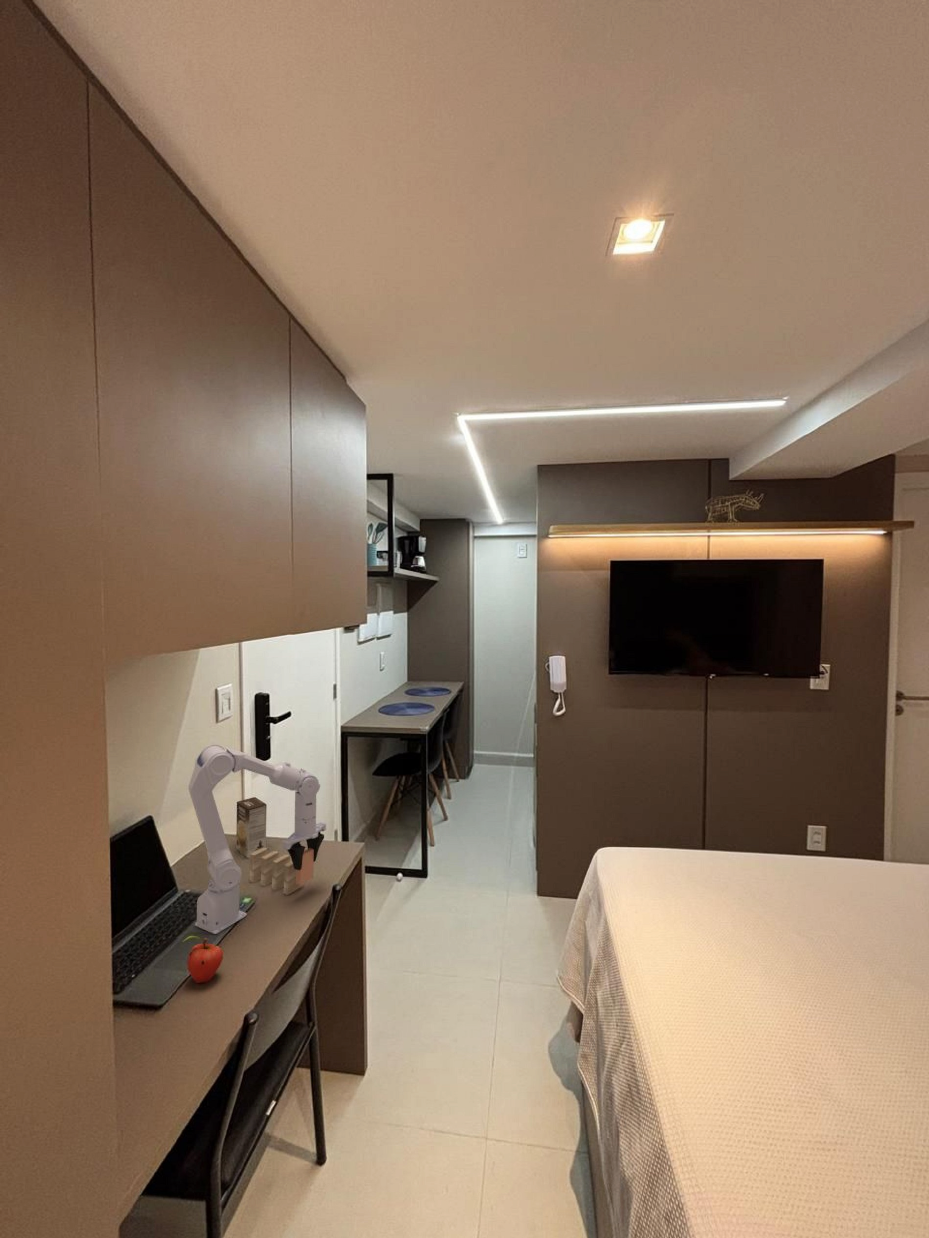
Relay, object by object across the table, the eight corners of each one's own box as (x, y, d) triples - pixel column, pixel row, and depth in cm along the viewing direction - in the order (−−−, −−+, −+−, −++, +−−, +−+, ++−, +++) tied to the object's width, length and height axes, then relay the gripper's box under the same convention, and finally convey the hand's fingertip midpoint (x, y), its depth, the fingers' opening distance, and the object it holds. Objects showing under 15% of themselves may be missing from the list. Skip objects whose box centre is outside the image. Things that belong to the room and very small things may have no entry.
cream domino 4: (301, 886, 153) (301, 859, 153) (287, 894, 149) (288, 866, 149) (297, 885, 154) (297, 857, 154) (283, 893, 149) (284, 864, 149)
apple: (213, 963, 120) (214, 919, 119) (228, 977, 115) (228, 931, 115) (177, 981, 114) (177, 934, 114) (191, 996, 109) (191, 948, 109)
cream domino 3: (289, 882, 155) (289, 855, 155) (276, 890, 151) (276, 862, 151) (285, 881, 156) (285, 854, 156) (272, 889, 152) (272, 861, 151)
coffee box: (235, 849, 176) (235, 801, 175) (254, 843, 180) (254, 796, 180) (247, 859, 169) (248, 808, 169) (267, 852, 174) (267, 803, 174)
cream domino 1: (267, 875, 159) (267, 848, 159) (253, 882, 155) (254, 855, 155) (263, 873, 160) (263, 847, 160) (249, 881, 156) (250, 853, 156)
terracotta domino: (296, 883, 147) (296, 854, 147) (309, 875, 152) (309, 847, 152) (300, 885, 147) (300, 856, 146) (313, 877, 151) (313, 849, 151)
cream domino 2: (278, 878, 157) (278, 851, 157) (264, 886, 153) (265, 858, 153) (274, 877, 158) (274, 850, 158) (260, 885, 154) (261, 857, 153)
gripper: (296, 828, 141) (296, 879, 141) (334, 810, 153) (333, 857, 154) (277, 823, 144) (276, 873, 144) (315, 805, 157) (315, 852, 157)
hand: (304, 864), depth 149 cm, fingers closed on terracotta domino, 5 cm apart
